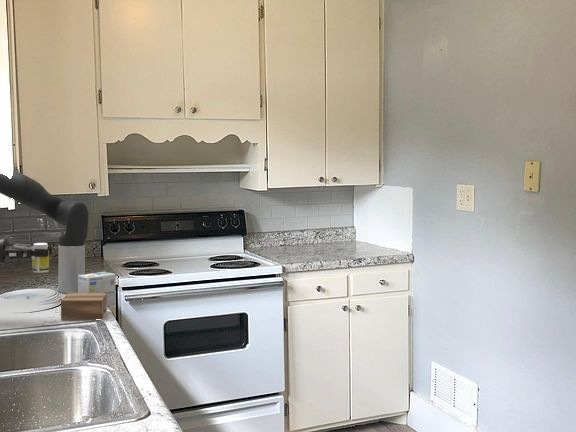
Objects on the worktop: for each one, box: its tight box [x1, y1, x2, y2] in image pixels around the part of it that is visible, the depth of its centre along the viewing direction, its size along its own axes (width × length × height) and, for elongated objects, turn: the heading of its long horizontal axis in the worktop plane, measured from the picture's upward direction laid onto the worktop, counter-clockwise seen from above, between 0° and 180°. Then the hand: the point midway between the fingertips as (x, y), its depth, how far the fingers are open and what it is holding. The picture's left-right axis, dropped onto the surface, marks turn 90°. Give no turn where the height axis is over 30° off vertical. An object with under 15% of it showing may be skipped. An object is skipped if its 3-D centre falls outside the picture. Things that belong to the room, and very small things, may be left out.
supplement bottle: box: [31, 242, 50, 274], centre depth 195 cm, size 5×5×8 cm
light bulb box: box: [78, 271, 116, 307], centre depth 218 cm, size 11×7×11 cm, turn 141°
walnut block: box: [60, 293, 107, 321], centre depth 204 cm, size 12×12×6 cm
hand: (50, 251), depth 196 cm, fingers closed on supplement bottle, 4 cm apart
